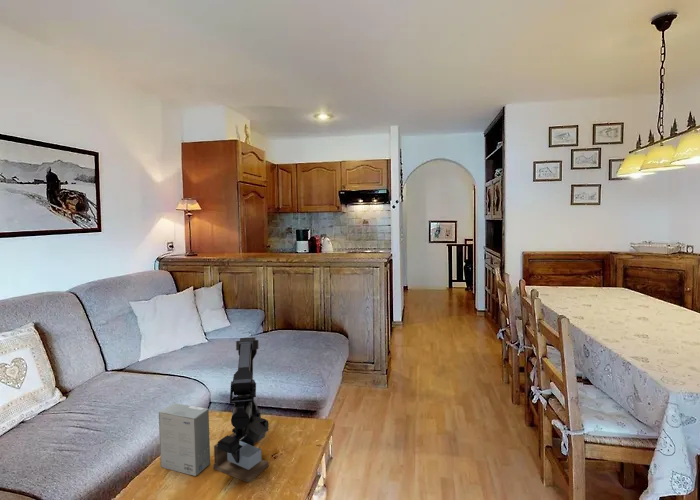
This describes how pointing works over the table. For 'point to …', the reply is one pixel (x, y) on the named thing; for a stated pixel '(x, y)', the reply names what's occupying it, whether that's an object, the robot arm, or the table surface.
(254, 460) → the grey rectangular block
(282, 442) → the table surface
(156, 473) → the table surface
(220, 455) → the walnut shelf
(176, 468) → the hard drive box
